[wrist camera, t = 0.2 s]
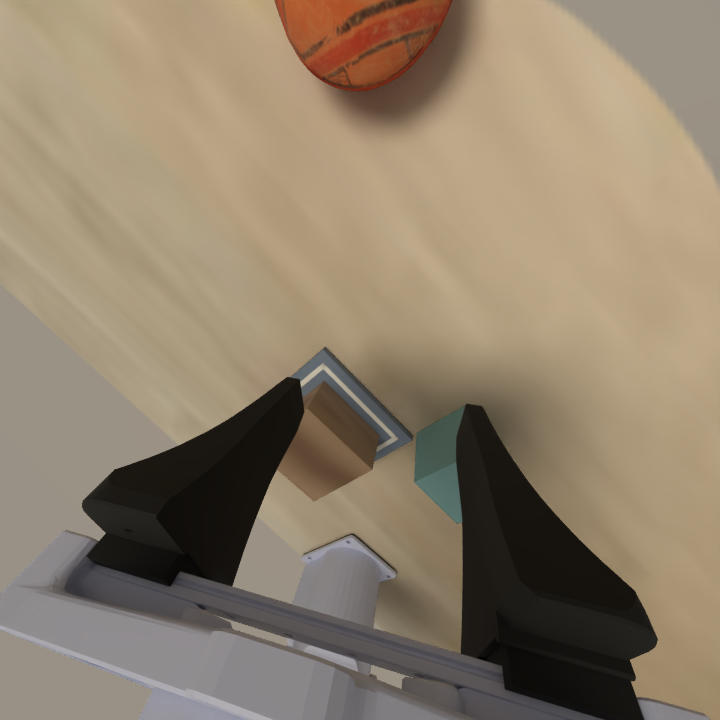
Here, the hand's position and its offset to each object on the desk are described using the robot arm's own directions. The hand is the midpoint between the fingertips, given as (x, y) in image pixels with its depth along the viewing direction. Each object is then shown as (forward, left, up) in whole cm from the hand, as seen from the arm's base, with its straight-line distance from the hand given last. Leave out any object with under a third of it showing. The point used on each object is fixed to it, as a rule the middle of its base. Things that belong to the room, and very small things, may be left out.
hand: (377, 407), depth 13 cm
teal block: (-3, -11, -11) cm, 15 cm away
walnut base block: (-11, -3, -10) cm, 15 cm away
